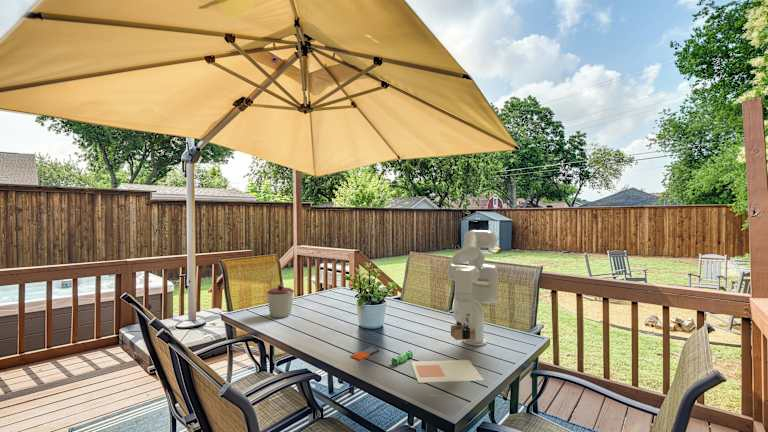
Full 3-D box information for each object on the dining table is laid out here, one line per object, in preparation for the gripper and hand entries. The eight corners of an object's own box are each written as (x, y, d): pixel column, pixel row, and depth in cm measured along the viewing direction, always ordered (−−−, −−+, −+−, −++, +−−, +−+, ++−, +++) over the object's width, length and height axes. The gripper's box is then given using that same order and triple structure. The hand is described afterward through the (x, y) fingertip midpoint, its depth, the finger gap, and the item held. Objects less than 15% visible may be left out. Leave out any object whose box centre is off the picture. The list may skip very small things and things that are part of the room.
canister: (273, 311, 246) (273, 281, 245) (298, 312, 243) (298, 282, 243) (261, 319, 228) (261, 287, 227) (287, 320, 225) (287, 288, 225)
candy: (405, 354, 172) (409, 348, 170) (410, 359, 170) (414, 354, 168) (389, 362, 163) (393, 356, 161) (394, 368, 161) (398, 362, 159)
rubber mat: (410, 362, 164) (410, 361, 164) (468, 360, 167) (468, 359, 167) (418, 383, 144) (418, 382, 144) (484, 380, 147) (484, 379, 147)
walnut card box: (450, 335, 158) (450, 325, 158) (469, 333, 160) (469, 324, 160) (456, 340, 152) (456, 329, 152) (475, 338, 154) (475, 328, 154)
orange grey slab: (349, 355, 170) (370, 346, 181) (349, 358, 170) (370, 348, 181) (359, 359, 165) (379, 349, 177) (359, 362, 165) (379, 352, 177)
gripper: (447, 292, 163) (447, 330, 163) (463, 301, 146) (463, 344, 147) (462, 291, 165) (462, 329, 165) (480, 300, 148) (479, 342, 148)
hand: (462, 335), depth 156 cm, fingers closed on walnut card box, 6 cm apart
